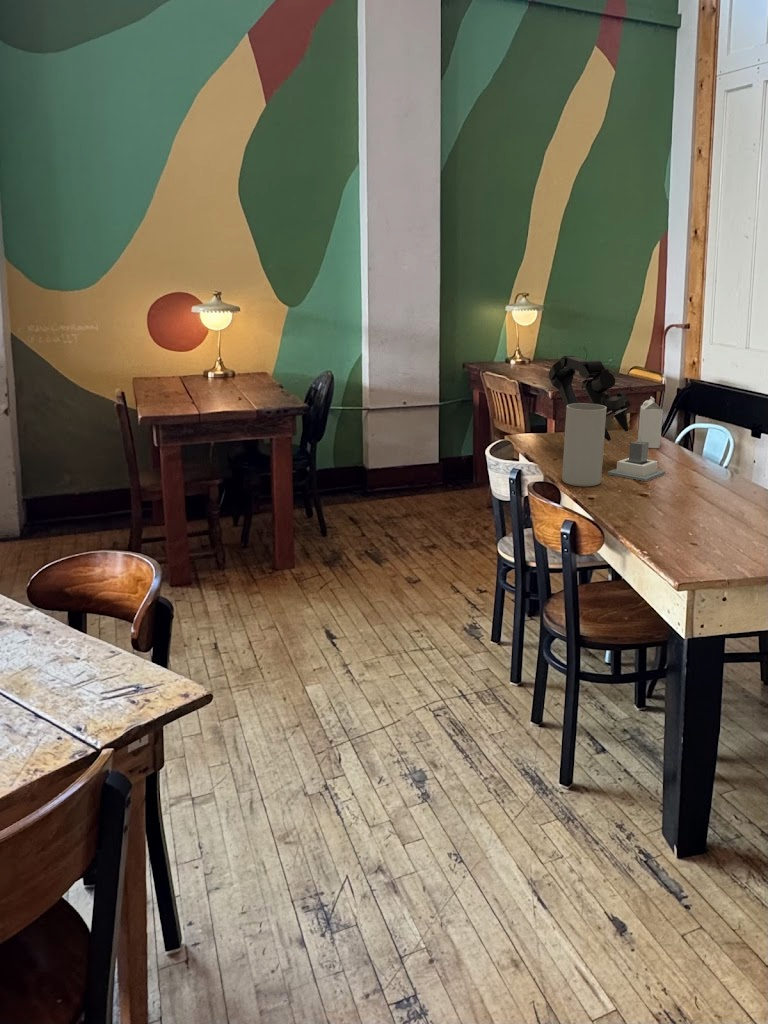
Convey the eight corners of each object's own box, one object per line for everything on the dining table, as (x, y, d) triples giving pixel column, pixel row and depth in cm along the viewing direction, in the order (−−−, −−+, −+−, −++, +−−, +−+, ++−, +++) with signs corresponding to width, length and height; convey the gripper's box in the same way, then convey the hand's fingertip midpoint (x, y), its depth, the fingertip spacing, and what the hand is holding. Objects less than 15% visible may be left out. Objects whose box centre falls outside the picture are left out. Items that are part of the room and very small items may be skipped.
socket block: (645, 481, 290) (646, 468, 289) (607, 474, 299) (608, 461, 298) (665, 474, 300) (666, 461, 299) (628, 467, 309) (629, 454, 308)
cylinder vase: (572, 488, 282) (577, 411, 275) (555, 478, 294) (559, 404, 287) (607, 485, 286) (613, 409, 278) (589, 476, 297) (594, 402, 290)
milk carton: (655, 444, 344) (660, 396, 339) (659, 448, 337) (664, 399, 332) (637, 444, 345) (641, 395, 339) (640, 448, 338) (644, 399, 333)
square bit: (639, 473, 296) (642, 444, 293) (627, 471, 299) (630, 442, 296) (646, 471, 299) (648, 442, 296) (634, 469, 302) (636, 440, 299)
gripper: (594, 396, 294) (616, 437, 294) (630, 378, 303) (651, 419, 303) (574, 407, 304) (595, 447, 303) (609, 390, 313) (630, 429, 312)
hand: (618, 435), depth 305 cm, fingers open, 9 cm apart
